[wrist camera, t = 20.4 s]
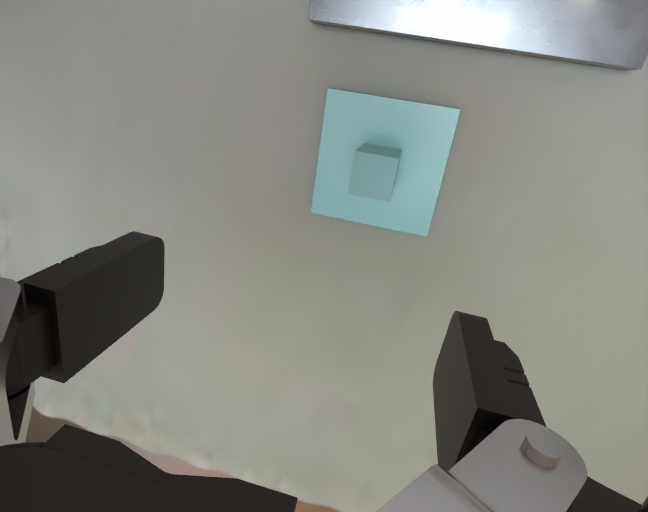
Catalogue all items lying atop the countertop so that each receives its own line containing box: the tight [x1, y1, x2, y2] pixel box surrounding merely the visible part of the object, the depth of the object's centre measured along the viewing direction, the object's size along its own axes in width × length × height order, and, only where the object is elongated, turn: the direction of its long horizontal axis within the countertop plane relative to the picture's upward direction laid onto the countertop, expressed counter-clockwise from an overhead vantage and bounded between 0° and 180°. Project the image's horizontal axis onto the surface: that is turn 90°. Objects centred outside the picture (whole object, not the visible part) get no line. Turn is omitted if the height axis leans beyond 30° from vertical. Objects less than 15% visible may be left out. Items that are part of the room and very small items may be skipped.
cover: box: [311, 88, 460, 237], centre depth 31 cm, size 10×10×6 cm
